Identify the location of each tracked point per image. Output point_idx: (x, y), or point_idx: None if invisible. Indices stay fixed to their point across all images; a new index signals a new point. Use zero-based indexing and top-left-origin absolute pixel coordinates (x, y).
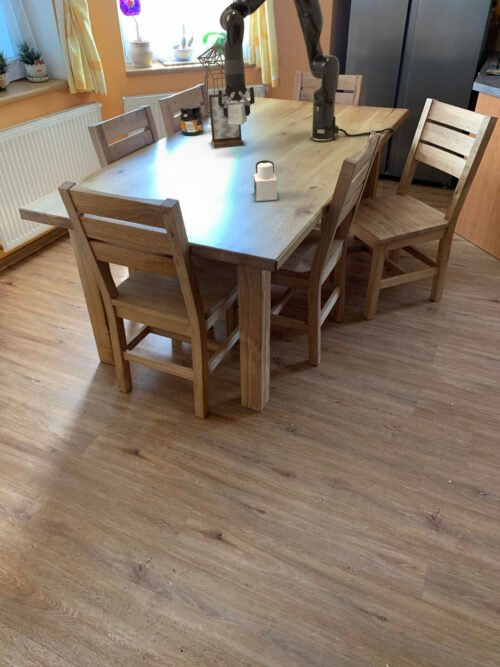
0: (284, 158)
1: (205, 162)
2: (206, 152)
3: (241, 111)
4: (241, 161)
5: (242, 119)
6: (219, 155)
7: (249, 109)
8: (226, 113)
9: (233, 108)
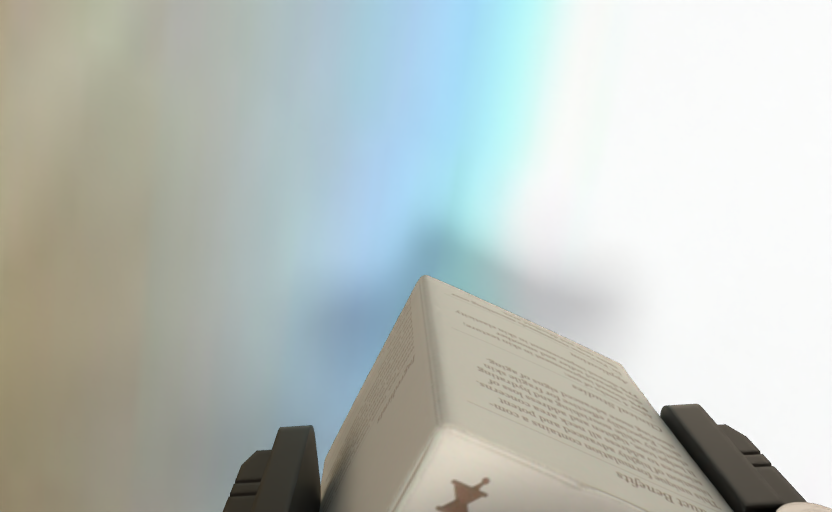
0: (39, 90)
1: (765, 179)
2: None
3: (433, 361)
4: (447, 116)
5: (414, 313)
6: (607, 332)
7: (241, 502)
8: (719, 440)
9: (611, 458)
